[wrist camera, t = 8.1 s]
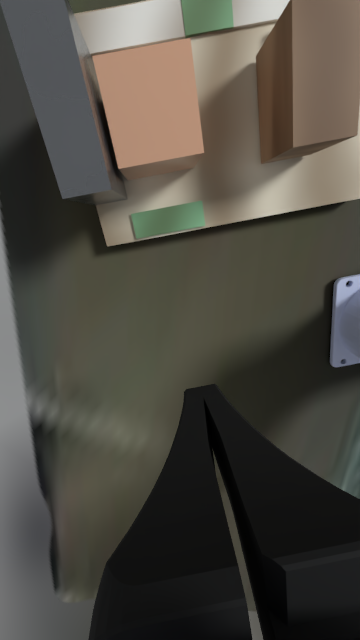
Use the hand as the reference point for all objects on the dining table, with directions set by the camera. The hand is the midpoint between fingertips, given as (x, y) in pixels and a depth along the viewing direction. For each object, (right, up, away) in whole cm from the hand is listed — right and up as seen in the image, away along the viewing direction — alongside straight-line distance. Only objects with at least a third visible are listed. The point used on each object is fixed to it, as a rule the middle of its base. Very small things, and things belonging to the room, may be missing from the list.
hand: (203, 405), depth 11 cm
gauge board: (+2, +15, +5) cm, 16 cm away
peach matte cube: (-2, +14, +4) cm, 15 cm away
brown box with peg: (+5, +16, +4) cm, 17 cm away
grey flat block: (-6, +14, +5) cm, 16 cm away
